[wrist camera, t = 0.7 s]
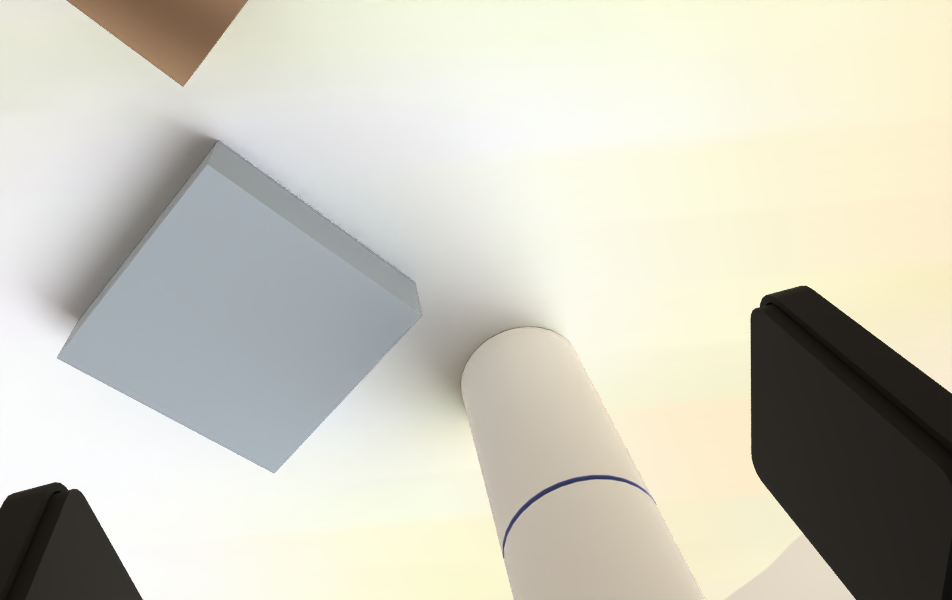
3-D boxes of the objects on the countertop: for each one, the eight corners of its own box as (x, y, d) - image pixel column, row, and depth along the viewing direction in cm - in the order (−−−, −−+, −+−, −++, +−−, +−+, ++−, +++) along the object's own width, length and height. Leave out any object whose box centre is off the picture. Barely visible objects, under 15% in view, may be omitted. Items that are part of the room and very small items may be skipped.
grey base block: (219, 137, 36) (207, 164, 33) (414, 279, 41) (422, 315, 38) (81, 316, 39) (56, 358, 36) (278, 427, 44) (274, 473, 41)
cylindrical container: (529, 303, 42) (735, 740, 21) (604, 376, 46) (851, 821, 24) (435, 384, 44) (535, 870, 22) (514, 449, 47) (670, 930, 25)
